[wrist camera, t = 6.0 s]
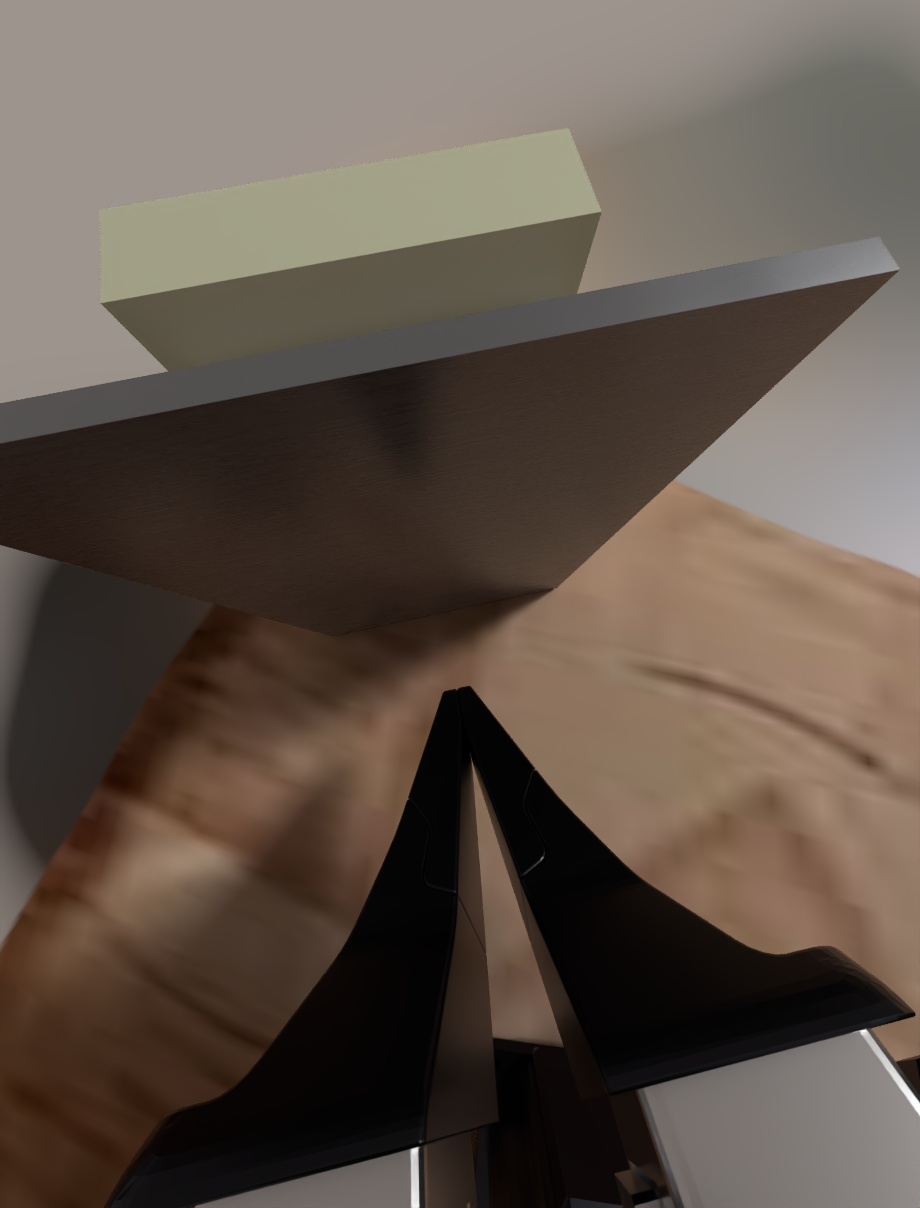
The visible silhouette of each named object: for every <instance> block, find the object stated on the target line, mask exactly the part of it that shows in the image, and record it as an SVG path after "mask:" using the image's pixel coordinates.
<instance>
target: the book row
mask: <svg viewBox="0 0 920 1208" xmlns="http://www.w3.org/2000/svg"><path fill="white" fill-rule="evenodd" d="M600 215H601V209H600V206H599V204H598V201H597V199H596V196H595V194H594V191H593V189H592V186H591V184H590V181H589V179H588V176H587V174H586V171H585V168H584V166H583V163H582V161H581V158H580V156H579V153H578V151H577V148H576V146H575V143H574V141H573V138H572V136H571V133H570V131H569V128H565V129H559V130H554V131H548V132H542V133H536V134H530V135H525V136H519V137H514V138H507V139H502V140H496V141H491V142H485V143H479V144H473V145H467V146H462V147H456V148H450V149H444V150H439V151H433V152H427V153H422V154H416V155H410V156H404V157H399V158H393V159H388V160H382V161H376V162H370V163H365V164H359V165H353V166H347V167H342V168H336V169H330V170H324V171H319V172H313V173H307V174H302V175H296V176H290V177H284V178H279V179H273V180H267V181H261V182H256V183H251V184H245V185H239V186H233V187H227V188H221V189H216V190H210V191H204V192H199V193H193V194H187V195H182V196H176V197H170V198H165V199H159V200H153V201H148V202H141V203H136V204H130V205H124V206H118V207H113V208H107V209H101V210H100V285H101V286H100V289H101V304H102V305H103V306H104V307H105V308H106V309H107V310H108V311H109V312H110V313H111V314H112V315H113V316H114V317H115V318H116V319H117V320H118V321H119V322H120V323H121V324H122V325H123V326H124V327H125V328H126V329H127V330H128V331H129V332H130V333H131V334H132V335H133V336H134V337H135V338H136V339H137V340H138V341H139V342H140V343H141V344H142V345H143V346H144V347H145V348H146V349H147V350H148V351H149V352H150V353H151V354H152V355H153V356H154V357H155V358H156V359H157V360H158V361H159V362H160V363H161V364H162V365H163V366H164V367H165V368H166V369H167V370H168V371H174V370H180V369H185V368H190V367H195V366H201V365H206V364H211V363H216V362H222V361H227V360H232V359H237V358H243V357H248V356H253V355H259V354H264V353H269V352H274V351H280V350H285V349H290V348H295V347H301V346H306V345H311V344H317V343H322V342H327V341H332V340H338V339H343V338H348V337H353V336H359V335H364V334H369V333H374V332H380V331H385V330H390V329H396V328H401V327H406V326H411V325H417V324H422V323H427V322H432V321H438V320H443V319H448V318H454V317H459V316H464V315H469V314H475V313H480V312H485V311H490V310H496V309H501V308H506V307H511V306H517V305H522V304H527V303H533V302H538V301H543V300H548V299H554V298H559V297H564V296H569V295H575V294H577V291H578V288H579V285H580V282H581V278H582V275H583V271H584V268H585V265H586V262H587V258H588V255H589V252H590V248H591V245H592V241H593V238H594V235H595V232H596V229H597V225H598V222H599V218H600Z"/></svg>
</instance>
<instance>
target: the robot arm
mask: <svg viewBox="0 0 920 1208" xmlns="http://www.w3.org/2000/svg"><path fill="white" fill-rule="evenodd" d="M471 758H472V760H471ZM472 762H473V765H474V769H475V772H476V775H477V778H478V781H479V784H480V787H481V790H482V794H483V797H484V800H485V803H486V806H487V809H488V812H489V815H490V818H491V822H492V825H493V828H494V831H495V834H496V837H497V840H498V843H499V846H500V849H501V853H502V856H503V859H504V862H505V865H506V868H507V871H508V874H509V877H510V881H511V884H512V887H513V890H514V893H515V896H516V899H517V902H518V905H519V908H520V912H521V915H522V918H523V921H524V924H525V927H526V930H527V933H528V936H529V940H530V942H531V946H532V949H533V952H534V955H535V958H536V961H537V964H538V968H539V971H540V974H541V977H542V980H543V983H544V986H545V989H546V992H547V995H548V999H549V1002H550V1005H551V1008H552V1011H553V1014H554V1017H555V1020H556V1023H557V1027H558V1030H559V1033H560V1036H561V1039H562V1042H563V1045H564V1048H560V1047H553V1046H545V1045H538V1044H531V1043H523V1042H516V1041H509V1040H502V1039H493V1037H492V1023H491V1010H490V997H489V983H488V970H487V957H486V944H485V930H484V917H483V903H482V890H481V876H480V863H479V850H478V836H477V823H476V809H475V796H474V783H473V769H472ZM408 798H409V800H407V802H406V805H405V808H404V811H403V814H402V817H401V820H400V822H399V825H398V828H397V831H396V833H395V836H394V839H393V841H392V843H391V846H390V848H389V850H388V853H387V855H386V857H385V860H384V862H383V864H382V866H381V869H380V871H379V873H378V875H377V878H376V880H375V882H374V884H373V886H372V889H371V891H370V893H369V895H368V897H367V900H366V902H365V904H364V906H363V909H362V911H361V913H360V915H359V917H358V920H357V922H356V924H355V926H354V928H353V930H352V932H351V934H350V936H349V938H348V940H347V941H346V943H345V945H344V946H343V948H342V950H341V951H340V953H339V954H338V956H337V957H336V959H335V960H334V962H333V963H332V964H331V966H330V967H329V968H328V970H327V971H326V972H325V974H324V975H323V976H322V977H321V979H320V980H319V981H318V983H317V984H316V985H315V987H314V988H313V989H312V991H311V992H310V993H309V995H308V996H307V997H306V999H305V1000H304V1001H303V1003H302V1004H301V1005H300V1006H299V1008H298V1009H297V1010H296V1012H295V1013H294V1014H293V1016H292V1017H291V1018H290V1020H289V1021H288V1022H287V1024H286V1025H285V1026H284V1028H283V1029H282V1030H281V1032H280V1033H279V1034H278V1035H277V1037H276V1038H275V1039H274V1041H273V1042H272V1043H271V1045H270V1046H269V1047H268V1049H267V1050H266V1051H265V1053H264V1054H263V1055H262V1057H261V1058H260V1059H259V1060H258V1062H257V1063H256V1064H255V1065H254V1066H253V1067H252V1069H251V1070H250V1071H249V1072H248V1073H247V1074H246V1075H245V1076H244V1077H243V1078H242V1079H241V1080H240V1081H239V1082H238V1083H237V1084H236V1085H235V1086H234V1087H232V1088H231V1089H229V1090H228V1091H227V1092H225V1093H224V1094H223V1095H221V1096H219V1097H217V1098H215V1099H213V1100H210V1101H206V1102H202V1103H198V1104H194V1105H190V1106H187V1107H183V1108H180V1109H177V1110H174V1111H172V1112H170V1113H168V1114H166V1115H164V1116H163V1117H162V1118H161V1119H160V1120H159V1122H158V1123H157V1124H156V1126H155V1127H154V1129H153V1130H152V1132H151V1133H150V1134H149V1136H148V1137H147V1139H146V1140H145V1142H144V1143H143V1145H142V1146H141V1148H140V1149H139V1150H138V1152H137V1153H136V1155H135V1156H134V1158H133V1159H132V1161H131V1163H130V1164H129V1166H128V1167H127V1169H126V1170H125V1172H124V1173H123V1174H122V1176H121V1178H120V1179H119V1181H118V1183H117V1185H116V1186H115V1188H114V1190H113V1191H112V1193H111V1195H110V1196H109V1199H108V1201H107V1203H106V1204H105V1206H104V1208H190V1207H194V1206H195V1208H920V1055H919V1056H915V1057H911V1058H907V1059H904V1060H900V1061H895V1060H894V1059H893V1057H892V1056H891V1055H890V1053H889V1052H888V1051H887V1049H886V1048H885V1046H884V1045H883V1044H882V1042H881V1041H880V1040H879V1038H878V1037H877V1036H876V1034H875V1033H874V1032H873V1030H872V1029H871V1028H873V1027H877V1026H881V1025H885V1024H888V1023H892V1022H896V1021H900V1020H903V1019H907V1018H910V1017H914V1016H915V1012H914V1011H913V1010H912V1009H911V1008H910V1007H909V1006H908V1005H907V1004H906V1003H905V1002H904V1001H903V1000H902V999H901V998H900V997H899V996H898V995H897V994H896V993H895V992H893V991H892V990H891V989H890V988H889V987H887V986H886V985H885V984H884V983H883V982H881V981H880V980H879V979H877V978H876V977H875V976H873V975H872V974H871V973H869V972H868V971H867V970H865V969H864V968H863V967H861V966H860V965H859V964H857V963H856V962H855V961H853V960H852V959H850V958H849V957H848V956H847V955H845V954H844V953H843V952H841V951H840V950H838V949H837V948H835V947H832V946H818V947H812V948H808V949H803V950H799V951H795V952H791V953H787V954H776V955H775V954H770V953H765V952H761V951H758V950H756V949H753V948H751V947H748V946H746V945H744V944H743V943H741V942H739V941H737V940H735V939H734V938H732V937H731V936H729V935H728V934H726V933H725V932H723V931H721V930H720V929H718V928H717V927H715V926H714V925H712V924H711V923H709V922H708V921H706V920H704V919H703V918H701V917H700V916H698V915H697V914H695V913H694V912H692V911H690V910H689V909H687V908H686V907H684V906H683V905H681V904H680V903H678V902H676V901H675V900H673V899H672V898H670V897H669V896H667V895H666V894H664V893H663V892H661V891H659V890H658V889H656V888H655V887H653V886H652V885H650V884H649V883H647V882H646V881H644V880H643V879H642V878H641V877H639V876H638V875H637V874H636V873H634V872H633V871H632V870H631V869H630V868H629V867H628V866H626V865H625V864H624V863H623V862H622V861H621V860H620V859H619V858H618V857H617V856H616V855H615V854H614V853H613V852H612V851H611V850H610V849H609V848H608V847H607V846H606V845H605V844H604V843H603V842H602V841H601V840H600V839H599V838H598V837H597V836H596V835H595V834H594V833H593V832H592V831H591V830H590V829H589V828H588V827H587V826H586V825H585V824H584V823H583V822H582V821H581V820H580V819H579V818H578V817H577V816H576V815H575V814H574V813H573V812H572V811H571V810H570V808H569V807H568V806H567V805H566V804H565V803H564V802H563V801H562V800H561V799H560V798H559V797H558V796H557V794H556V793H555V792H554V791H553V790H552V788H551V787H550V786H549V785H548V784H547V782H546V781H545V780H544V779H543V777H542V776H541V775H540V774H539V772H538V771H537V770H535V767H534V766H533V765H532V764H531V762H530V761H529V760H528V759H527V757H526V756H525V755H524V753H523V752H522V751H521V750H520V748H519V747H518V746H517V745H516V743H515V742H514V741H513V739H512V738H511V737H510V736H509V734H508V733H507V732H506V731H505V729H504V728H503V727H502V725H501V724H500V723H499V722H498V720H497V719H496V718H495V717H494V715H493V714H492V713H491V711H490V710H489V709H488V708H487V706H486V705H485V704H484V703H483V701H482V700H481V699H480V698H479V696H478V695H477V694H476V692H475V691H474V690H473V689H472V687H470V686H466V687H461V688H458V690H456V689H452V690H448V691H444V692H443V694H442V697H441V700H440V703H439V706H438V709H437V712H436V715H435V718H434V721H433V724H432V727H431V730H430V733H429V736H428V739H427V742H426V745H425V748H424V751H423V754H422V757H421V760H420V763H419V766H418V769H417V772H416V775H415V778H414V781H413V784H412V787H411V790H410V793H409V796H408ZM494 1057H497V1058H500V1059H499V1060H498V1061H494ZM475 1129H478V1130H477V1144H476V1158H475V1172H474V1162H473V1151H472V1139H471V1131H472V1130H475Z"/></svg>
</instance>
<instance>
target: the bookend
mask: <svg viewBox="0 0 920 1208" xmlns="http://www.w3.org/2000/svg"><path fill="white" fill-rule="evenodd" d="M899 270H900V269H899V268H898V266H897V264H896V263H895V261H894V260H893V258H892V257H891V255H890V253H889V252H888V250H887V249H886V247H885V245H884V244H883V242H882V241H881V239H880V238H879V237H875V238H870V239H865V240H859V241H855V242H849V243H843V244H838V245H833V246H828V247H822V248H817V249H812V250H807V251H801V252H796V253H791V254H786V255H780V256H775V257H770V258H764V259H759V260H754V261H749V262H743V263H738V264H733V265H728V266H723V267H717V268H712V269H707V270H701V271H696V272H691V273H685V274H680V275H675V276H670V277H665V278H660V279H654V280H648V281H644V282H638V283H633V284H628V285H622V286H617V287H612V288H607V289H601V290H596V291H591V292H586V293H580V294H575V295H569V296H564V297H559V298H554V299H548V300H543V301H538V302H533V303H527V304H522V305H517V306H511V307H506V308H501V309H496V310H490V311H485V312H480V313H475V314H469V315H464V316H459V317H454V318H448V319H443V320H438V321H432V322H427V323H422V324H417V325H411V326H406V327H401V328H396V329H390V330H385V331H380V332H374V333H369V334H364V335H359V336H353V337H348V338H343V339H338V340H332V341H327V342H322V343H317V344H311V345H306V346H301V347H295V348H290V349H285V350H280V351H274V352H269V353H264V354H259V355H253V356H248V357H243V358H237V359H232V360H227V361H222V362H216V363H211V364H206V365H201V366H195V367H190V368H185V369H180V370H174V371H169V372H164V373H158V374H153V375H148V376H143V377H137V378H132V379H127V380H122V381H116V382H111V383H106V384H101V385H95V386H90V387H85V388H79V389H75V390H70V391H64V392H58V393H53V394H48V395H43V396H37V397H32V398H27V399H21V400H16V401H11V402H6V403H0V545H2V546H6V547H10V548H13V549H17V550H20V551H24V552H28V553H31V554H35V555H39V556H42V557H46V558H49V559H54V560H57V561H60V562H64V563H68V564H72V565H75V566H79V567H83V568H86V569H89V570H93V571H97V572H100V573H104V574H108V575H111V576H115V577H119V578H123V579H126V580H130V581H133V582H137V583H140V584H144V585H148V586H152V587H155V588H159V589H162V590H166V591H170V592H173V593H177V594H181V595H184V596H188V597H191V598H195V599H199V600H203V601H206V602H210V603H213V604H217V605H221V606H224V607H228V608H231V609H235V610H239V611H242V612H246V613H250V614H253V615H257V616H261V617H264V618H268V619H271V620H275V621H279V622H282V623H286V624H290V625H293V626H297V627H301V628H304V629H308V630H312V631H315V632H319V633H322V634H326V635H330V636H335V635H339V634H344V633H348V632H353V631H358V630H362V629H367V628H372V627H376V626H381V625H386V624H390V623H395V622H400V621H404V620H409V619H413V618H418V617H423V616H427V615H432V614H437V613H441V612H446V611H451V610H455V609H460V608H464V607H469V606H474V605H478V604H483V603H488V602H492V601H497V600H502V599H506V598H511V597H516V596H520V595H525V594H529V593H534V592H539V591H543V590H548V589H553V588H557V587H558V586H559V585H560V584H561V583H563V582H564V581H565V580H566V579H567V578H568V577H569V576H570V575H571V574H572V573H573V572H574V571H575V570H577V569H578V568H579V567H580V566H581V565H582V564H583V563H584V562H585V561H586V560H587V559H588V558H589V557H591V556H592V555H593V554H594V553H595V552H596V551H597V550H598V549H599V548H600V547H601V546H602V545H603V544H605V543H606V542H607V541H608V540H609V539H610V538H611V537H612V536H613V535H614V534H615V533H616V532H618V531H619V530H620V529H621V528H622V527H623V526H624V525H625V524H626V523H627V522H628V521H629V520H630V519H632V518H633V517H634V516H635V515H636V514H637V513H638V512H639V511H640V510H641V509H642V508H643V507H644V506H646V505H647V504H648V503H649V502H650V501H651V500H652V499H653V498H654V497H655V496H656V495H657V494H658V493H660V492H661V491H662V490H663V489H664V488H665V487H666V486H667V485H668V484H669V483H670V482H671V481H673V480H674V479H675V478H676V477H677V476H678V475H679V474H680V473H681V472H682V471H683V470H684V469H685V468H687V467H688V466H689V465H690V464H691V463H692V462H693V461H694V460H695V459H696V458H697V457H698V456H699V455H700V454H702V453H703V452H704V451H705V450H706V449H707V448H708V447H709V446H710V445H711V444H712V443H714V442H715V441H716V440H717V439H718V438H719V437H720V436H721V435H722V434H723V433H724V432H725V431H726V430H728V428H730V427H731V426H732V425H733V424H734V423H735V422H736V421H737V420H738V419H739V418H740V417H742V416H743V415H744V414H745V413H746V412H747V411H748V410H749V409H750V408H751V407H752V406H753V405H754V404H756V402H757V401H759V400H760V399H761V398H762V397H763V396H764V395H765V394H766V393H767V392H768V391H769V390H771V389H772V387H774V386H775V385H776V384H777V383H778V382H779V381H780V380H781V379H783V378H784V377H785V376H786V375H787V374H788V373H789V372H790V371H791V370H792V369H793V368H794V367H795V366H796V365H798V364H799V363H800V362H801V361H802V360H803V359H804V358H805V357H806V356H807V355H808V354H809V353H811V351H813V350H814V349H815V348H816V347H817V346H818V345H819V344H820V343H821V342H822V341H823V340H825V339H826V338H827V337H828V336H829V335H830V334H831V333H832V332H833V331H834V330H835V329H836V328H837V327H839V326H840V325H841V324H842V323H843V322H844V321H845V320H846V319H847V318H848V317H849V316H850V315H852V314H853V313H854V312H855V311H856V310H857V309H858V308H859V307H860V306H861V305H862V304H863V303H864V302H866V301H867V300H868V299H869V298H870V297H871V296H872V295H873V294H874V293H875V292H876V291H877V290H879V288H881V287H882V286H883V285H884V284H885V283H886V282H887V281H888V280H889V279H890V278H891V277H893V275H895V274H896V273H897V272H898V271H899Z"/></svg>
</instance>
